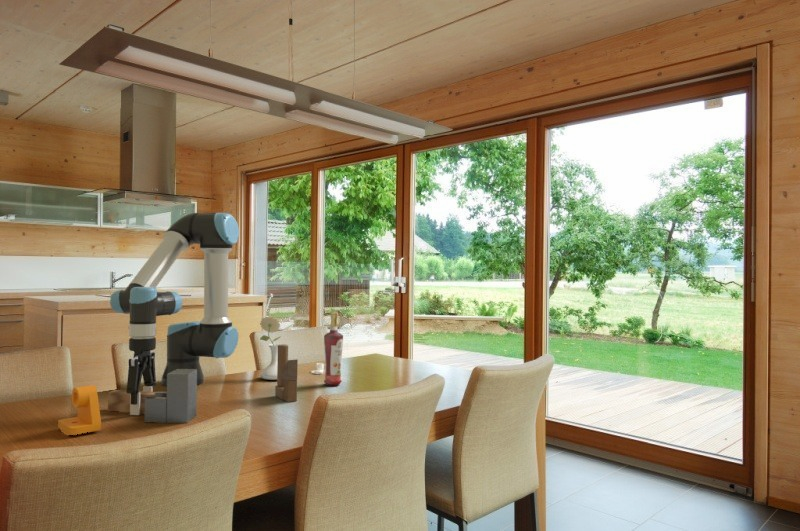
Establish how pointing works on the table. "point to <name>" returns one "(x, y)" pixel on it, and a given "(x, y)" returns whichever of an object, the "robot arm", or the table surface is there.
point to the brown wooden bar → (125, 400)
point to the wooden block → (286, 376)
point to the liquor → (333, 353)
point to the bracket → (83, 412)
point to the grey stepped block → (174, 399)
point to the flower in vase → (270, 326)
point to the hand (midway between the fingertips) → (141, 410)
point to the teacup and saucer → (319, 369)
